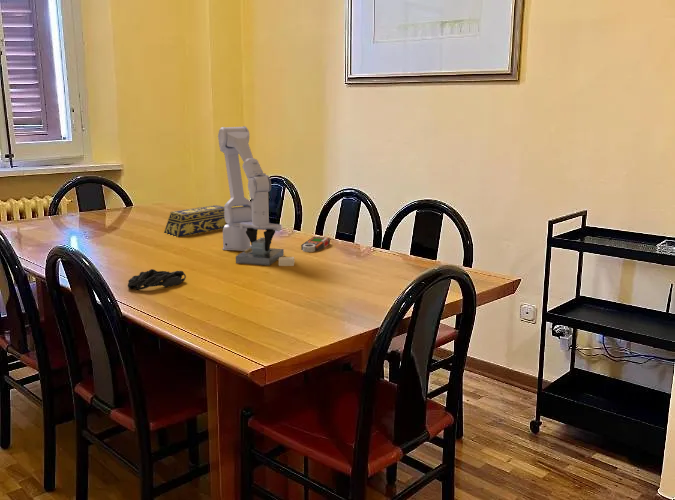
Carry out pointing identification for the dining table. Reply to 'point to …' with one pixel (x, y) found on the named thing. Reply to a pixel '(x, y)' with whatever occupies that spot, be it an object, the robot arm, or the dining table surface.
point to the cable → (156, 279)
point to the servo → (259, 247)
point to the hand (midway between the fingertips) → (261, 250)
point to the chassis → (259, 257)
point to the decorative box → (195, 220)
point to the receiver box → (286, 261)
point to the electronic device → (315, 244)
